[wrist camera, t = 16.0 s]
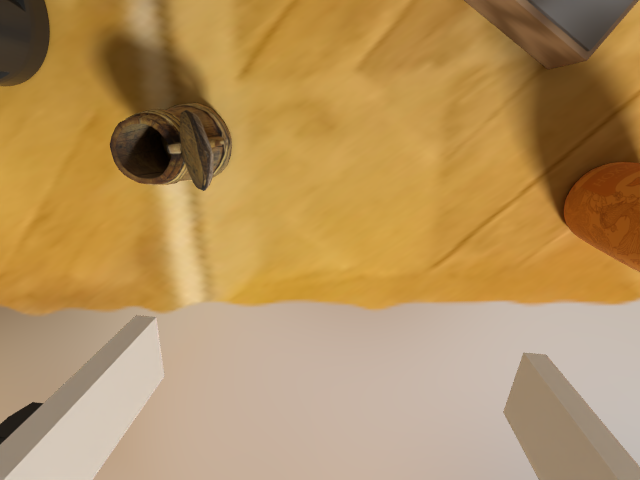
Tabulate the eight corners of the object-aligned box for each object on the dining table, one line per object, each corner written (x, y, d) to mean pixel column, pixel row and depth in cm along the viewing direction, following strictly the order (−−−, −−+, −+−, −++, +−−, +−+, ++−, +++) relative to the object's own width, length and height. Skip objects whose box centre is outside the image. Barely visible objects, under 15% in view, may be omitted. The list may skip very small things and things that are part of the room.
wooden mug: (273, 176, 41) (221, 218, 24) (168, 181, 42) (50, 226, 25) (263, 97, 38) (198, 83, 21) (151, 106, 39) (4, 99, 22)
